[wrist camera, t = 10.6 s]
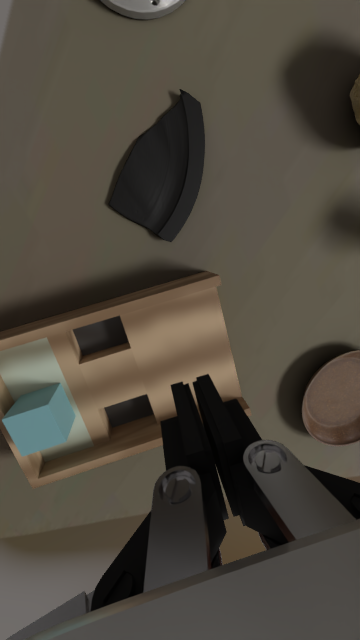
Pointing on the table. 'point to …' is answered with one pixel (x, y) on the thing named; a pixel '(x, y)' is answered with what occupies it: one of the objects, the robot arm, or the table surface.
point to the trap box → (118, 370)
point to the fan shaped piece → (164, 171)
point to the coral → (356, 99)
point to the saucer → (334, 401)
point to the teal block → (40, 419)
